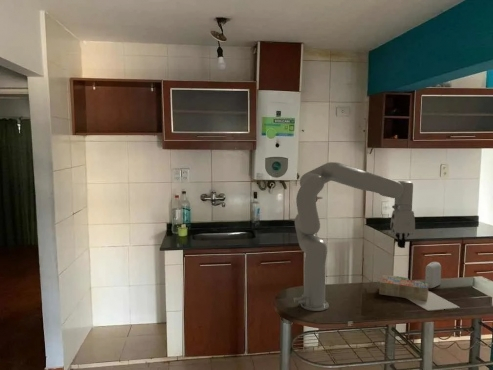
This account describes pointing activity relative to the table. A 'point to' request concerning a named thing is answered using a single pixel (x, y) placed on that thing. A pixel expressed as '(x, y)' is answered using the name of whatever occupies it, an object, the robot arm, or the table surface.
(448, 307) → the mat
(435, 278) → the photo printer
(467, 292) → the table surface
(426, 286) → the stack of blocks
